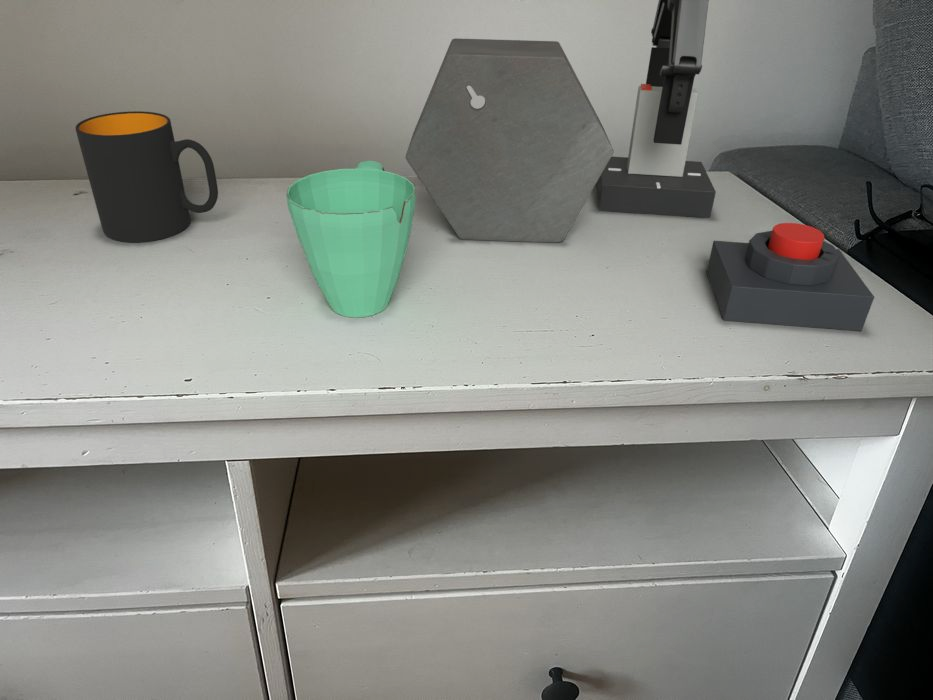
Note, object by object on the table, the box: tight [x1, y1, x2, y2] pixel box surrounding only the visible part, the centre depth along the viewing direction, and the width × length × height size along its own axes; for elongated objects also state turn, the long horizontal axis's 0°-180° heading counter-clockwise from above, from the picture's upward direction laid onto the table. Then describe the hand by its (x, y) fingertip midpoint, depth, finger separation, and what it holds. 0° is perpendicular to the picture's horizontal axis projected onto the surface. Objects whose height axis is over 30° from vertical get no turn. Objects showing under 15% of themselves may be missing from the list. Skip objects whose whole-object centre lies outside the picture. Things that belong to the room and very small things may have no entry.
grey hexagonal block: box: [405, 37, 615, 243], centre depth 70 cm, size 17×8×21 cm
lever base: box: [596, 156, 717, 219], centre depth 82 cm, size 12×10×3 cm
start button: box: [768, 222, 825, 260], centre depth 60 cm, size 4×4×2 cm
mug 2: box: [285, 160, 416, 319], centre depth 60 cm, size 15×10×10 cm
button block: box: [706, 230, 875, 332], centre depth 61 cm, size 11×9×5 cm
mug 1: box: [75, 110, 219, 244], centre depth 70 cm, size 8×12×10 cm
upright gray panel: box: [627, 83, 699, 177], centre depth 79 cm, size 6×2×9 cm, turn 83°
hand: (660, 124), depth 78 cm, fingers open, 13 cm apart
